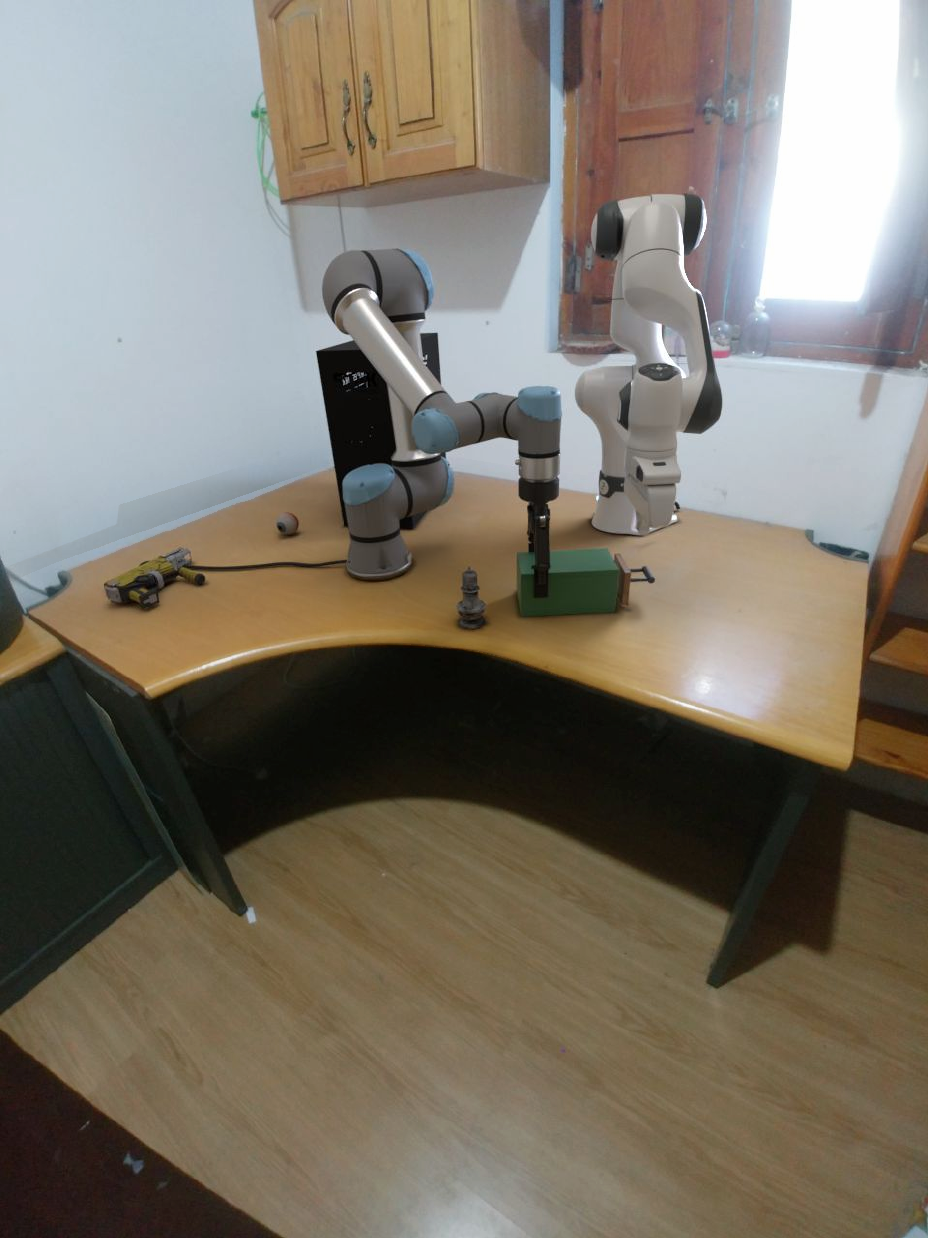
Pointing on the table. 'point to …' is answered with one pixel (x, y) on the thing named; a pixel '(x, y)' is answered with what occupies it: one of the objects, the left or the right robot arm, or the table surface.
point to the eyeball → (287, 523)
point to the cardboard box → (363, 410)
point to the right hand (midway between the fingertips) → (642, 532)
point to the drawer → (628, 578)
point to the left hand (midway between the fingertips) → (537, 584)
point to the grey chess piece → (471, 602)
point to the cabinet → (569, 583)
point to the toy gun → (150, 579)
